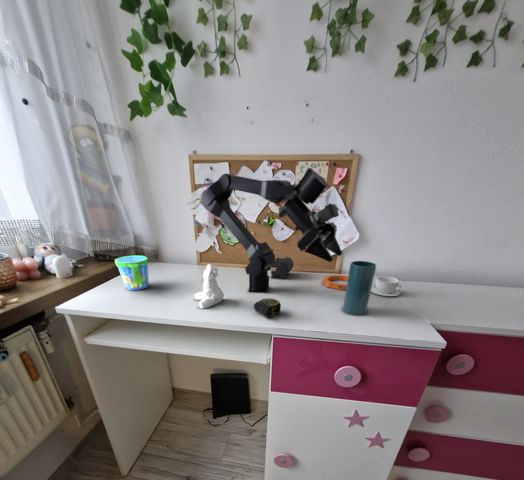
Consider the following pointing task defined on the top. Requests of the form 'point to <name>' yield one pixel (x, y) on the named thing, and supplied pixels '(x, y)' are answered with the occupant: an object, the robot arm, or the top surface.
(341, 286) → the ring
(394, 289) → the teacup
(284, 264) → the end cap
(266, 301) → the tape measure
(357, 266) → the cup
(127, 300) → the top surface
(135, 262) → the snack cup
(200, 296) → the sitting furry creature
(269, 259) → the robot arm
